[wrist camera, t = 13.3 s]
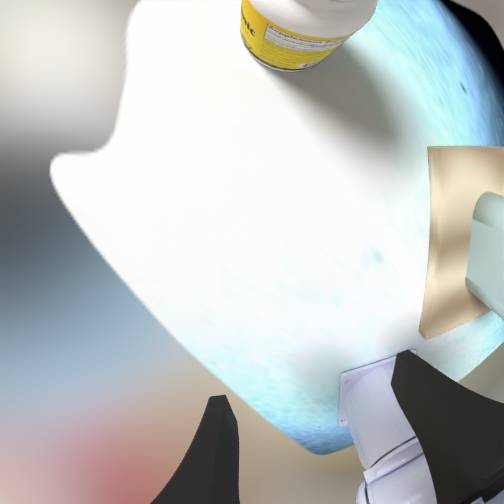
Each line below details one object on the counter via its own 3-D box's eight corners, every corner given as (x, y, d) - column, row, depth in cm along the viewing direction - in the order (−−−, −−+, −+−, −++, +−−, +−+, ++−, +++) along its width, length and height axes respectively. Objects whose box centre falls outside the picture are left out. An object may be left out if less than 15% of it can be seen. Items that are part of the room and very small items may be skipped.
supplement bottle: (250, -6, 12) (267, -107, 3) (333, 17, 12) (411, -58, 3) (229, 62, 14) (226, -27, 4) (319, 85, 14) (410, 34, 5)
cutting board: (491, 298, 22) (499, 305, 20) (418, 330, 22) (426, 340, 20) (506, 146, 16) (517, 148, 14) (427, 146, 16) (440, 148, 14)
